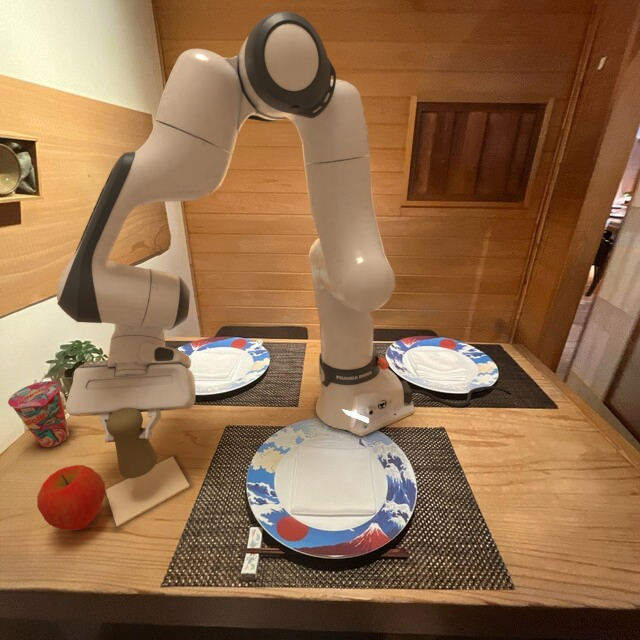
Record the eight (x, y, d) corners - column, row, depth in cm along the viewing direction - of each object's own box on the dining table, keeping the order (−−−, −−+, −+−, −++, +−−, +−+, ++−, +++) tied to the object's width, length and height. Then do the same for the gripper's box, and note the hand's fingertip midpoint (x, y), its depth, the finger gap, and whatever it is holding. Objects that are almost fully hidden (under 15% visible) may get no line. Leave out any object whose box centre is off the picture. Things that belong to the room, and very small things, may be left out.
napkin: (173, 457, 71) (172, 455, 71) (189, 486, 64) (189, 485, 64) (106, 491, 64) (105, 489, 64) (117, 527, 58) (116, 526, 57)
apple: (123, 499, 62) (106, 453, 58) (96, 547, 55) (73, 499, 50) (75, 500, 63) (54, 454, 58) (41, 549, 55) (13, 500, 50)
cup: (20, 450, 74) (-4, 403, 69) (56, 422, 81) (37, 378, 76) (56, 457, 72) (34, 409, 67) (90, 428, 79) (72, 383, 74)
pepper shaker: (143, 480, 58) (125, 428, 54) (111, 475, 59) (91, 424, 55) (164, 453, 64) (150, 403, 59) (134, 448, 65) (118, 399, 60)
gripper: (64, 358, 60) (50, 445, 55) (189, 350, 61) (185, 435, 56) (86, 366, 65) (74, 446, 61) (199, 359, 67) (196, 436, 62)
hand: (128, 440), depth 59 cm, fingers closed on pepper shaker, 4 cm apart
